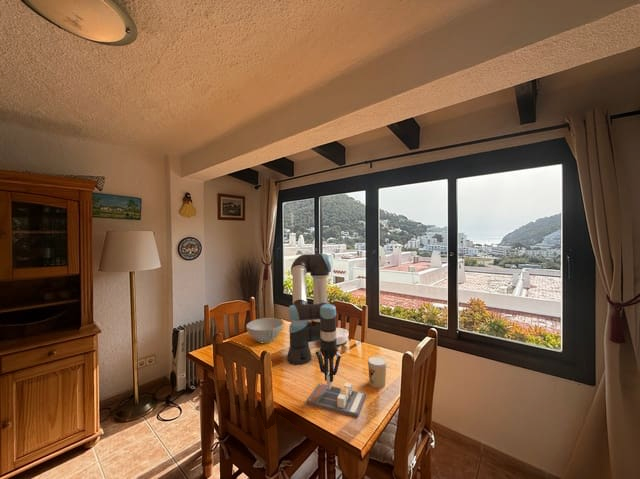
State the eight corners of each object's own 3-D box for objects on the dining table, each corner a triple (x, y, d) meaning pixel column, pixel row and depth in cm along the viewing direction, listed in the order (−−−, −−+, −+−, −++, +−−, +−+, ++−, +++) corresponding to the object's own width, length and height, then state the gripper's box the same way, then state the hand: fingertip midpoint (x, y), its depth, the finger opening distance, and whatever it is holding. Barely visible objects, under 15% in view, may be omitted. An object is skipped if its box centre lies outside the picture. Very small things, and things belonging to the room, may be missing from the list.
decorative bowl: (280, 347, 179) (280, 330, 178) (241, 348, 179) (241, 330, 179) (286, 332, 205) (285, 317, 205) (252, 333, 206) (251, 318, 206)
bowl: (353, 340, 188) (352, 330, 188) (341, 350, 173) (341, 339, 173) (331, 335, 198) (331, 326, 198) (318, 344, 183) (317, 334, 183)
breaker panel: (306, 404, 119) (306, 392, 119) (319, 386, 132) (319, 375, 132) (358, 417, 109) (357, 404, 109) (366, 396, 123) (365, 385, 123)
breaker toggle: (340, 399, 119) (340, 390, 119) (342, 396, 121) (342, 386, 121) (346, 401, 117) (346, 391, 117) (348, 397, 120) (348, 388, 120)
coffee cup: (366, 379, 138) (365, 357, 137) (383, 378, 139) (383, 355, 138) (371, 390, 128) (370, 365, 128) (389, 388, 129) (389, 364, 129)
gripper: (312, 339, 121) (313, 389, 122) (339, 343, 116) (339, 395, 117) (318, 333, 128) (319, 380, 129) (344, 337, 123) (344, 386, 124)
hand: (329, 387), depth 123 cm, fingers closed
